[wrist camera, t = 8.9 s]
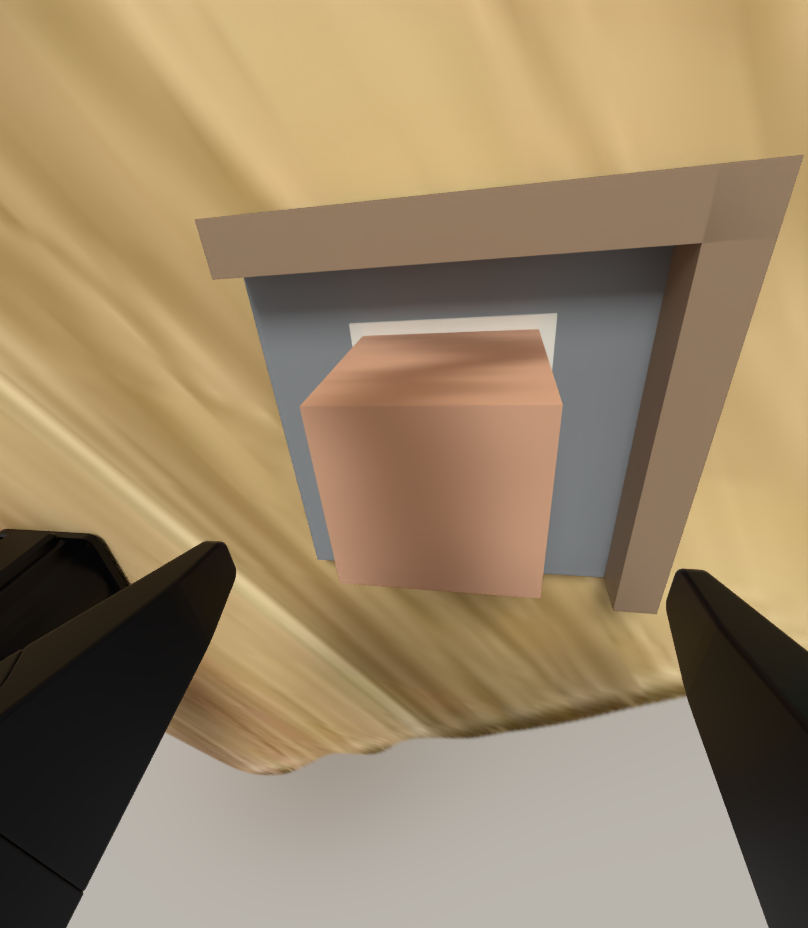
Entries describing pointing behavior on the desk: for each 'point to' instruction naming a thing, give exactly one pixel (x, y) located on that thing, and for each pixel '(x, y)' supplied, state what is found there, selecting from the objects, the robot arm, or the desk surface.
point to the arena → (540, 326)
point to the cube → (438, 460)
